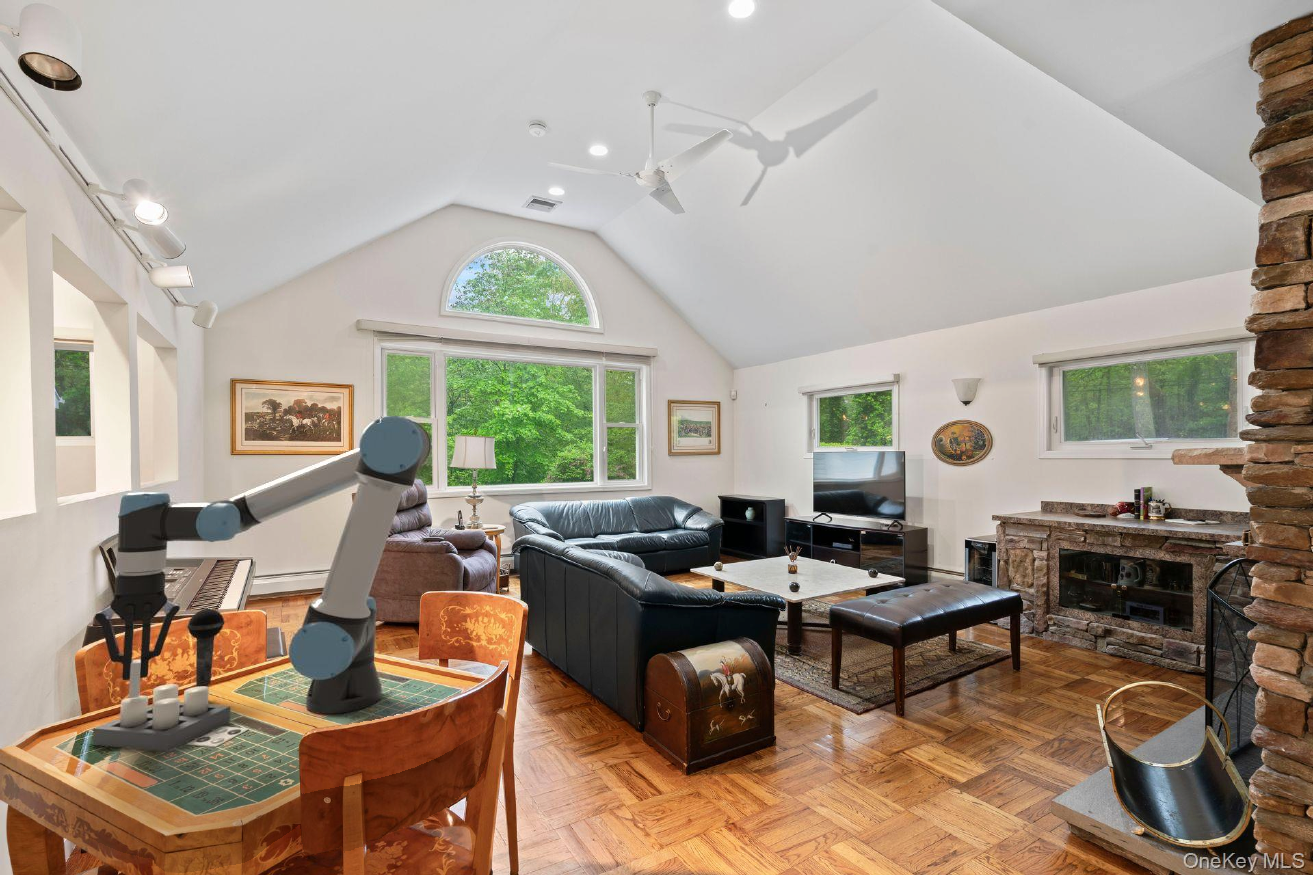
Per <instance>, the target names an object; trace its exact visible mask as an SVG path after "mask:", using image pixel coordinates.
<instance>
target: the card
mask: <svg viewBox="0 0 1313 875" xmlns="http://www.w3.org/2000/svg"><path fill="white" fill-rule="evenodd" d="M249 730H250V728H245V727H236V726H234V727H233V726H225V725H221V726H219V727H217V728H215V729H213V730H211V731H209V732H207V733H205V734H203V735H201V736H199V737H197V738H195V739H193V740H191V741H189V742H187V744H186V745H188V746H194V747H195V746H198V747H208V748H217V747H219V746H221V745H223V744H225V743H226V742H228V741H230V740H232V739H234V738H236V737H238V736H241V735H242V734H244V733H245V732H248V731H249Z"/></svg>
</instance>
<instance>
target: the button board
mask: <svg viewBox="0 0 1313 875" xmlns="http://www.w3.org/2000/svg"><path fill="white" fill-rule="evenodd" d="M183 707H184V701H182V702H181V701H180V708H179V724H178V725H177V726H175V727H173V728H170V729H166V730H153V729H152V721H153V713H152V709H153V704H151V705H148V710H147V722H146V723H144V724H141V725H139V726H135V727H128V728H123V727H120V717H119V718H117V719H114V720H112V721H109V722H106V723H104V724H101V725H99V726H96V727H93V730H92V731H93V736H92V745H93V746H102V747H103V746H104V747H114V748H125V749H137V750H147V751H156V752H170V751H172V750H174V749H176V748H178V747H180V746H182V745H184V744H186V743H189V742H191V741H193V740H195V739H197V738H199V737H202V736H204V735H206V734H208V733H210V732H212V731H214V730H216V729H218V728H220V727H222V726H224V724H227V723H229V722H230V721H231V708H232V707H231V705H220V704H209V703H208V711H207V712H206V713H204V714H201V715H197V716H190V717H188V716H183Z"/></svg>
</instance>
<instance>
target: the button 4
mask: <svg viewBox="0 0 1313 875" xmlns="http://www.w3.org/2000/svg"><path fill="white" fill-rule="evenodd" d="M209 691H210V688H209V686H208V687H206V686H200V687H199V686H195V687H190V688H187V689H185V690H184V691H183V694H184V695H183V703H184V707H183V716H188V717H190V716H197V715H201V714H204V713H206V712H207V711H208V704H209Z"/></svg>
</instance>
